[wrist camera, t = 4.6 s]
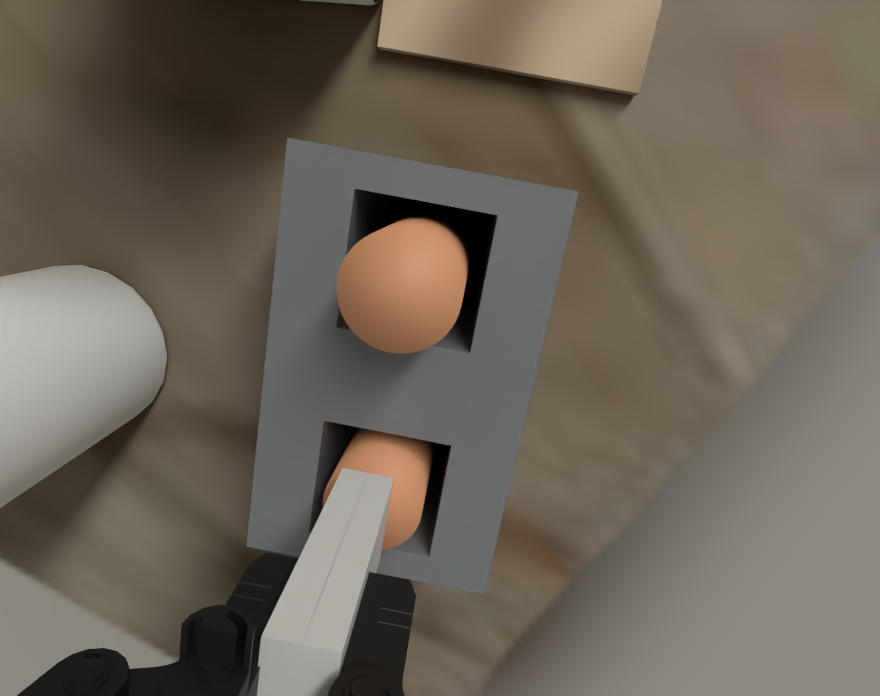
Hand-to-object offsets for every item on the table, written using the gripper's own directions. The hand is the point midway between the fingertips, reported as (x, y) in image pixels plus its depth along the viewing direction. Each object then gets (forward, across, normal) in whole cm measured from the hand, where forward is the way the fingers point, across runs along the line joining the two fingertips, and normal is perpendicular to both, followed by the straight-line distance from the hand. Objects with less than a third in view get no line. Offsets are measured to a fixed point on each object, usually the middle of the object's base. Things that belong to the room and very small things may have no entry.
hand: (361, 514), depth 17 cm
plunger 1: (+4, 0, +7) cm, 8 cm away
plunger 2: (+6, 0, 0) cm, 6 cm away
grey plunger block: (+8, 0, +3) cm, 8 cm away
